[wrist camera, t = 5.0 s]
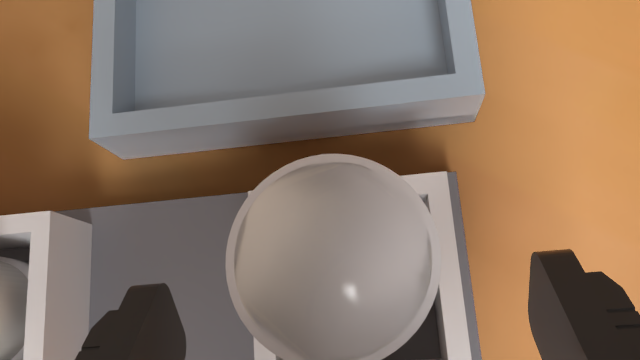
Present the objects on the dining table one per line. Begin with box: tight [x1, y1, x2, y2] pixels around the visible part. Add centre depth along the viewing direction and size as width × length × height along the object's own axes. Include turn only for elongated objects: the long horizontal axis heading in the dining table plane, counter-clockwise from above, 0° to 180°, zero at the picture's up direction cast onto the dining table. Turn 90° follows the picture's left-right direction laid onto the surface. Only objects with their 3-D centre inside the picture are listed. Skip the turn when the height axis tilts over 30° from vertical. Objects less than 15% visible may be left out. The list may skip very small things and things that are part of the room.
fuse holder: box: [0, 171, 482, 360], centre depth 18 cm, size 19×7×4 cm, turn 94°
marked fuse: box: [225, 154, 441, 360], centre depth 14 cm, size 4×4×8 cm
